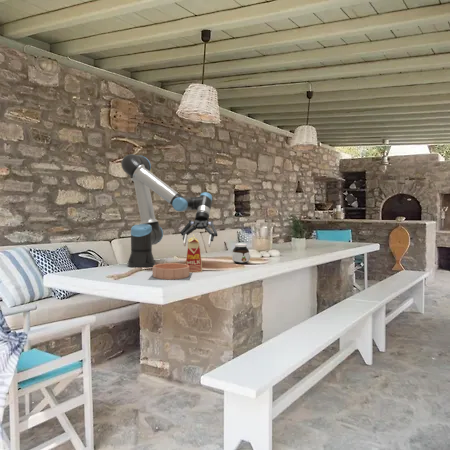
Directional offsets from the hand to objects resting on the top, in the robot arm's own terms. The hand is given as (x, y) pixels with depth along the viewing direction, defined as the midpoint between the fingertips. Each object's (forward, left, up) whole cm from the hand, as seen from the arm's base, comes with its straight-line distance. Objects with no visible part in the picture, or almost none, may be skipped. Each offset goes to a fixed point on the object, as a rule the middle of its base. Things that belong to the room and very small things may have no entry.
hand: (196, 245), depth 235 cm
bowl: (-12, -16, -14) cm, 24 cm away
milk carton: (-2, -1, -14) cm, 15 cm away
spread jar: (+25, +32, -14) cm, 43 cm away
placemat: (-12, -16, -14) cm, 24 cm away
